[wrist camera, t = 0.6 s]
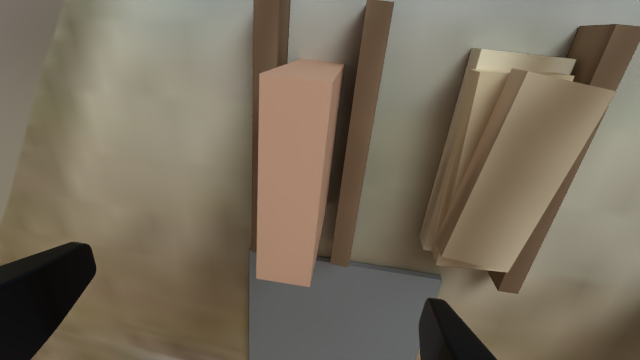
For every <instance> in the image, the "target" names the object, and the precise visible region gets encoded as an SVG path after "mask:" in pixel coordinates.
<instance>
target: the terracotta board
mask: <svg viewBox="0 0 640 360" xmlns="http://www.w3.org/2000/svg"><path fill="white" fill-rule="evenodd" d="M343 72H344V64H340V63H331V62H322V61H314V60H305V59H299V60H296V61H294V62H291V63H288V64H285V65H282V66H279V67H277V68H274V69H271V70H268V71H265V72H263V73H260V74H259V134H258V197H257V260H256V279H262V280H269V281H275V282H281V283H287V284H293V285H299V286H305V287H310V285H311V280H312V275H313V270H314V265H315V260H316V256H317V251H318V246H319V241H320V236H321V231H322V227H323V222H324V217H325V212H326V207H327V202H328V194H329V185H330V177H331V169H332V161H333V153H334V145H335V137H336V129H337V121H338V112H339V104H340V96H341V88H342V80H343Z"/></svg>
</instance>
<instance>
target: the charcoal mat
mask: <svg viewBox="0 0 640 360" xmlns="http://www.w3.org/2000/svg"><path fill="white" fill-rule="evenodd" d="M256 260H257V253H255V252H252V246H251V248H250V261H249V360H415V358H416V355H417V353H418V350H419V347H420V343H419V320H420V317H421V313H422V310H423V307H424V304H425V301H426V299H427V298H436V297H437V294H438V291H439V288H440V285H441V282H442V279H441V276H440V275H435V274H428V273H422V272H416V271H409V270H403V269H396V268H390V267H384V266H377V265H371V264H364V263H358V262H351V261H349V266H348V267H344V266H338V265H331V264H330V260H331V258H326V257H319V256H316V260H315V265H314V270H313V275H312V280H311V285H310V287H305V286H299V285H293V284H287V283H281V282H275V281H269V280H262V279H256Z"/></svg>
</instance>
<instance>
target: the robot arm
mask: <svg viewBox="0 0 640 360" xmlns="http://www.w3.org/2000/svg"><path fill="white" fill-rule="evenodd" d="M95 273H96V264H95V260H94V256H93V252H92V249H91V247H90V246H89V245H88V244H86V243H79V242H70V243H67V244H64V245H61V246H58V247H55V248H52V249H49V250H46V251H43V252H40V253H37V254H34V255H31V256H28V257H26V258H23V259H20V260H17V261H14V262H11V263H8V264H5V265H2V266H0V360H31V359H32V357H33V356H34V355H35V354H36V353H37V351H38V350H39V349H40V348H41V347H42V346H43V344H44V343H45V342H46V341H47V340H48V338H49V337H50V336H51V335H52V334H53V332H54V331H55V330H56V329H57V327H58V326H59V325H60V323H61V322H62V321H63V319H64V318H65V317H66V315H67V314H68V312H69V311H70V310H71V308H72V307H73V305H74V304H75V303H76V301H77V300H78V298H79V297H80V296H81V294H82V293H83V291H84V290H85V289H86V287H87V286H88V284H89V283H90V282H91V280H92V279H93V277H94V276H95ZM419 343H420V356H421V360H497V359H496V358H495V357H494V355H493V354H492V353H491V352H490V351H489V350H488V349H487V347H486V346H485V345H484V344H483V343H482V342H481V341H480V340H479V338H478V337H477V336H476V335H475V334H474V333H473V332H472V331H471V329H470V328H469V327H468V326H467V325H466V324H465V323H464V321H463V320H462V319H461V318H460V317H459V316H458V315H457V314H456V312H455V311H454V310H453V309H452V308H451V307H450V306H449V305H448V303H447V302H446V301H444V300H442V299H436V298H427V299H426V301H425V304H424V307H423V310H422V313H421V317H420V320H419Z"/></svg>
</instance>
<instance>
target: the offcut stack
mask: <svg viewBox="0 0 640 360" xmlns="http://www.w3.org/2000/svg"><path fill="white" fill-rule="evenodd" d="M576 60H577V59H569V58H560V57H551V56H542V55H532V54H523V53H514V52H504V51H495V50H486V49H476V48H472V49H471V53H470V56H469V60H468V63H467V67H466V71H465V74H464V78H463V81H462V85H461V89H460V92H459V96H458V99H457V103H456V107H455V110H454V114H453V117H452V121H451V124H450V128H449V132H448V135H447V139H446V142H445V146H444V150H443V153H442V157H441V160H440V164H439V168H438V171H437V175H436V178H435V182H434V185H433V189H432V193H431V196H430V200H429V203H428V207H427V211H426V214H425V218H424V221H423V225H422V229H421V232H420V236H419V237H420V241H421V244H422V248H423V250H428V251H432V254H433V257H434V260H435V263H436V265H438V266H448V267H458V268H468V269H478V270H489V271H499V272H507V273H508V272H509V270H510V268H511V267H512V265H513V263H514V262H515V260H516V258H517V257H518V255H519V253H520V252H521V250H522V248H523V247H524V245H525V243H526V242H527V240H528V238H529V237H530V235H531V233H532V232H533V230H534V228H535V227H536V225H537V223H538V222H539V220H540V218H541V217H542V215H543V213H544V212H545V210H546V208H547V207H548V205H549V203H550V202H551V200H552V198H553V197H554V195H555V193H556V192H557V190H558V188H559V187H560V185H561V183H562V182H563V180H564V178H565V177H566V175H567V173H568V172H569V170H570V168H571V167H572V165H573V163H574V162H575V160H576V158H577V157H578V155H579V153H580V152H581V150H582V148H583V147H584V145H585V143H586V142H587V140H588V138H589V137H590V135H591V133H592V132H593V130H594V128H595V127H596V125H597V123H598V122H599V120H600V118H601V117H602V115H603V113H604V112H605V110H606V108H607V107H608V105H609V103H610V102H611V100H612V98H613V97H614V95H615V94H616V92H617V91H613V90H608V89H604V88H599V87H595V86H591V85H586V84H582V83H577V82H573V79H574V76H572V75H570V74H571V72H572V69H573V67H574V64H575V62H576Z"/></svg>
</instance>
